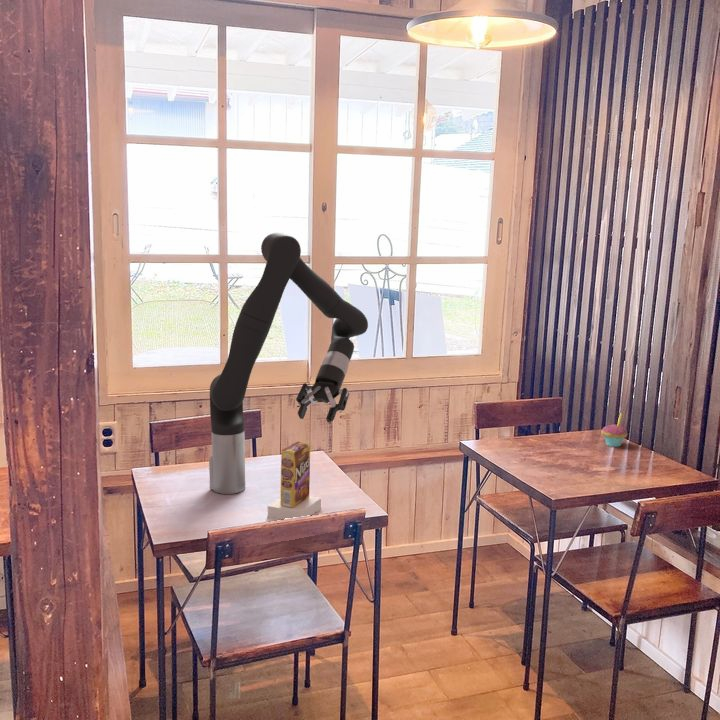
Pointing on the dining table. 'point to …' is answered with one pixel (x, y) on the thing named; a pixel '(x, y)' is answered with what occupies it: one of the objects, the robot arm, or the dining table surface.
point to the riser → (299, 510)
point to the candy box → (295, 474)
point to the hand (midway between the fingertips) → (314, 419)
